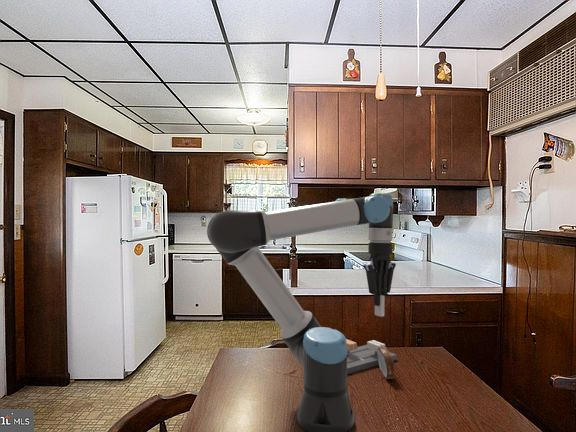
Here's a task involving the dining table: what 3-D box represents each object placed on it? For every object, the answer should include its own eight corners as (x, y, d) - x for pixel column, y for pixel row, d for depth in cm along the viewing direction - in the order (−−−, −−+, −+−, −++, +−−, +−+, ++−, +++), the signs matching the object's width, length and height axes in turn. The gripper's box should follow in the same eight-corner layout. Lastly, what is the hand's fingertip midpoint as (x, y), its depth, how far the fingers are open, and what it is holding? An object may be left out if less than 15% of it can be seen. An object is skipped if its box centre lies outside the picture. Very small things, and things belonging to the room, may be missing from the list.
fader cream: (378, 357, 142) (378, 345, 142) (367, 352, 147) (366, 341, 148) (385, 355, 144) (385, 344, 144) (373, 351, 149) (373, 339, 149)
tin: (395, 383, 125) (395, 357, 125) (385, 383, 125) (385, 357, 125) (385, 366, 140) (384, 343, 140) (376, 366, 140) (376, 343, 140)
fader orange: (350, 356, 144) (350, 344, 144) (339, 351, 149) (339, 340, 149) (357, 354, 146) (357, 342, 146) (346, 349, 151) (346, 338, 151)
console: (336, 377, 130) (336, 369, 130) (311, 363, 143) (311, 356, 143) (396, 359, 146) (396, 353, 146) (368, 349, 159) (368, 342, 159)
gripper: (375, 242, 114) (374, 320, 114) (403, 242, 122) (402, 315, 121) (357, 241, 120) (356, 315, 120) (384, 241, 128) (383, 310, 127)
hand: (379, 315), depth 121 cm, fingers closed
